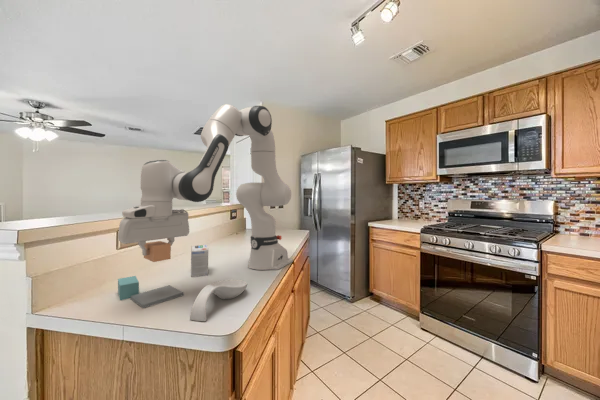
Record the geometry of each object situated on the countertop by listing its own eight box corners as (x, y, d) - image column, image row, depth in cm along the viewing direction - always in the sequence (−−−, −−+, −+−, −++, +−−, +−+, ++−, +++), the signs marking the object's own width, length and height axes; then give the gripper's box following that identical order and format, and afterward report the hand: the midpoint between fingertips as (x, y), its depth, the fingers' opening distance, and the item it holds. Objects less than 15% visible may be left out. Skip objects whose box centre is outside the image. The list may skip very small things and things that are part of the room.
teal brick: (135, 289, 87) (135, 275, 86) (138, 296, 80) (138, 282, 80) (118, 292, 83) (117, 278, 83) (120, 300, 77) (119, 285, 77)
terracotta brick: (160, 254, 84) (160, 240, 84) (170, 258, 79) (170, 244, 79) (143, 257, 80) (143, 243, 80) (153, 262, 75) (153, 246, 75)
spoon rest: (221, 287, 89) (221, 267, 89) (252, 289, 87) (252, 269, 87) (178, 320, 66) (178, 294, 66) (218, 324, 64) (218, 297, 64)
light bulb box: (191, 269, 108) (191, 245, 108) (207, 268, 111) (207, 244, 111) (190, 277, 99) (190, 250, 98) (208, 275, 101) (208, 249, 101)
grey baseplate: (169, 287, 88) (169, 285, 88) (183, 295, 82) (183, 292, 82) (130, 299, 78) (130, 296, 78) (143, 308, 72) (143, 304, 72)
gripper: (183, 208, 89) (183, 246, 90) (116, 211, 73) (116, 257, 73) (192, 209, 85) (192, 249, 86) (123, 212, 69) (124, 261, 69)
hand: (157, 253), depth 79 cm, fingers closed on terracotta brick, 5 cm apart
